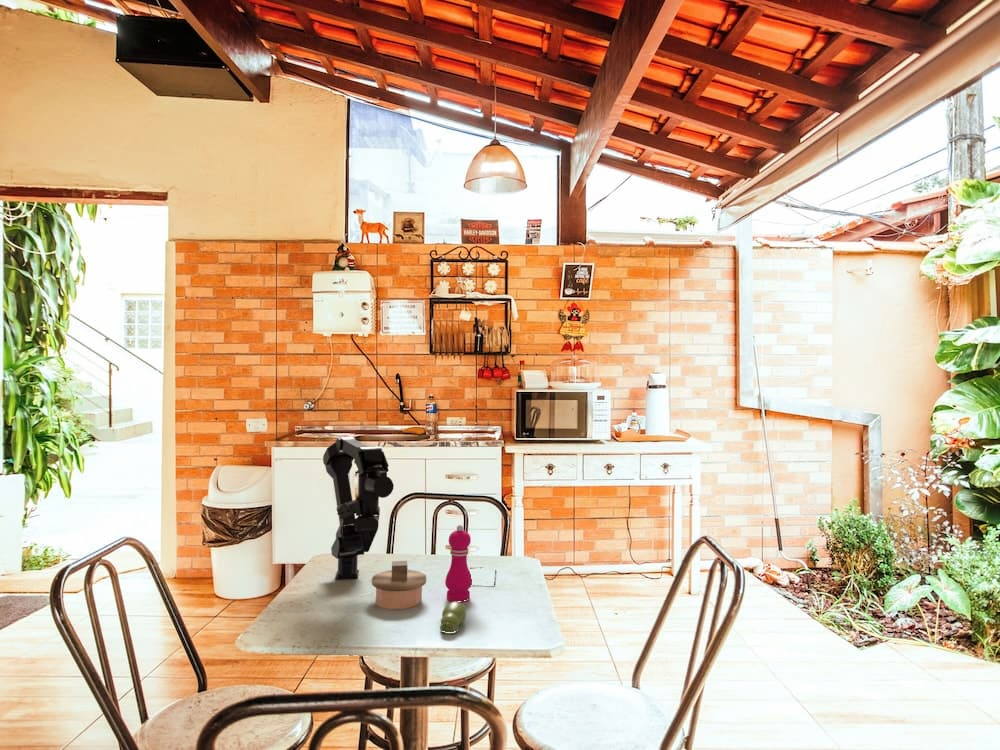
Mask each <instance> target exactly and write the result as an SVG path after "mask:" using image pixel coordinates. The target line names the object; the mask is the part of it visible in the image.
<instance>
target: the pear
mask: <svg viewBox="0 0 1000 750" xmlns="http://www.w3.org/2000/svg"><path fill="white" fill-rule="evenodd" d="M441 617H442V618H441V620H440V626H439V631H440V632H441V631H445V632H454V631H457V630H460V624H462V623H464V621H465V619H466V617H467V610H466V606H465V605H464V604H463V602H458V601H453V602H452V601H450V602H449V603H448V604H446V606H445V607H444V609H443V611H442V614H441Z"/></svg>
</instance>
